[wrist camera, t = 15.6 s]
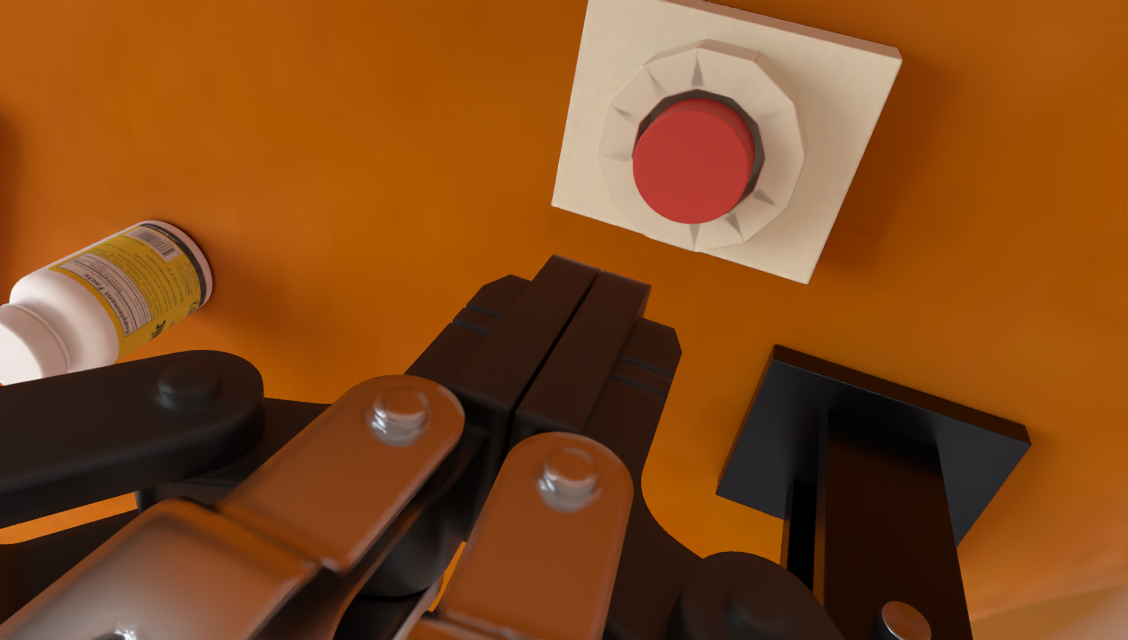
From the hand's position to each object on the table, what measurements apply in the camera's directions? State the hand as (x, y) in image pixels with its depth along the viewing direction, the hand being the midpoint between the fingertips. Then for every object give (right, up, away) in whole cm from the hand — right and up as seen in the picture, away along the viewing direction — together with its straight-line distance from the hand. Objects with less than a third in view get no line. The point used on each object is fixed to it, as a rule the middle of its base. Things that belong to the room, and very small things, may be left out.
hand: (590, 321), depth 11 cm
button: (+4, +5, +12) cm, 14 cm away
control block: (+5, +7, +15) cm, 18 cm away
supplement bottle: (-22, +3, +28) cm, 36 cm away
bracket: (+12, -6, +20) cm, 24 cm away
